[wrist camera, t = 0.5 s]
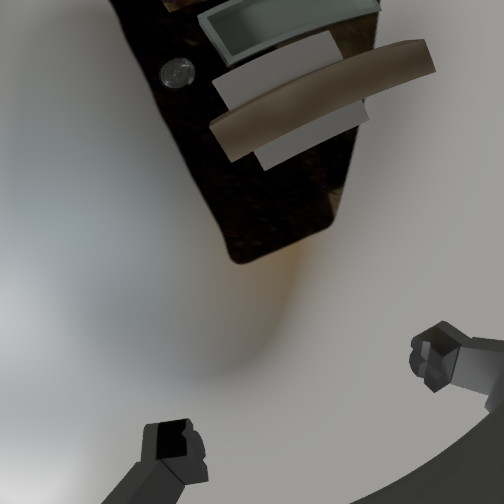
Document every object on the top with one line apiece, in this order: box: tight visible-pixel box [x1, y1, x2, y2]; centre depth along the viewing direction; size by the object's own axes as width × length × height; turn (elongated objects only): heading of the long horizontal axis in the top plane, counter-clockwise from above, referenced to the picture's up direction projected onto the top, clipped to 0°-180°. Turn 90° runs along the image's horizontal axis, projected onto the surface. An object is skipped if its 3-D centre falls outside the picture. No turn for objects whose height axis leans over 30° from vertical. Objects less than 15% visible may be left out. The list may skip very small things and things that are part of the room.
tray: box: [198, 0, 382, 68], centre depth 34 cm, size 10×29×7 cm, turn 118°
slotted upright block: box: [212, 30, 369, 171], centre depth 34 cm, size 10×12×26 cm
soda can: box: [159, 57, 200, 91], centre depth 37 cm, size 5×5×12 cm
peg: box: [209, 39, 436, 163], centre depth 21 cm, size 4×22×4 cm, turn 118°
